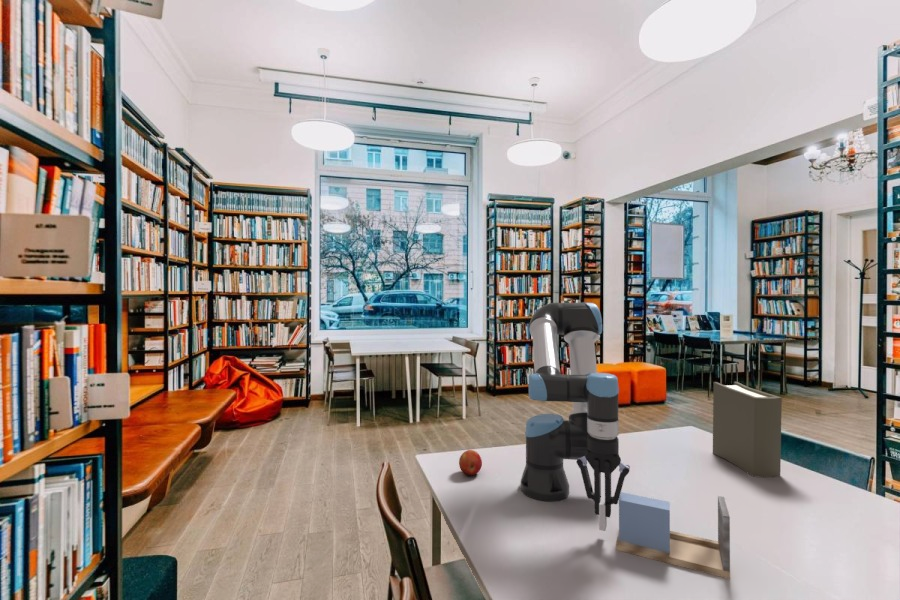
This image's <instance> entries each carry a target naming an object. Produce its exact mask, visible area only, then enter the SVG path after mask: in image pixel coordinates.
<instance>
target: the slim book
mask: <svg viewBox="0 0 900 600" xmlns="http://www.w3.org/2000/svg"><path fill="white" fill-rule="evenodd" d="M670 505H671V502H670V501H666V500H663V499H659V498H658V499H656V498H652V497H647V496H642V495H636V494H631V493H626V492H622V491H621V493H620V496H619V500H618V532H619V541H623V542H627V543H631V544H635V545H639V546H643V547H647V548H651V549H655V550H659V551H663V552H667V553H670V531H671V520H670V519H671V518H670V517H671V516H670V515H671V509H670V507H671V506H670Z"/></svg>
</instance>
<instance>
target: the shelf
mask: <svg viewBox="0 0 900 600" xmlns="http://www.w3.org/2000/svg"><path fill="white" fill-rule="evenodd" d="M730 519H731V517H730V513H729V510H728V506H727V503H726V500H725V497H724V496H722V495H717V540H714V539H713V540H712V539H710V538H709V539H707V538H704V537H699V536H694V535H690V534H687V533H686V534H685V533H682V532H681V533H680V532H677V531H673V530H670V553H667V552H663V551H659V550H655V549H651V548H647V547H643V546H639V545H635V544H631V543H627V542H623V541H619V531H618V532H617V536H616V542H615V550H616V551H620V552H623V553H628V554H631V555H632V554H633V555H636V556H639V557H644V558H647V559H650V560H655V561H659V562H663V563H666V564H670V565H675V566H678V567H683V568H686V569H690V570H694V571H698V572H702V573H706V574H710V575H714V576H718V577H721V578H725V579H729V580H730V579H731V536H730V535H731V529H730V528H731V526H730V524H731V523H730V522H731V520H730Z"/></svg>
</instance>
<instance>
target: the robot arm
mask: <svg viewBox="0 0 900 600" xmlns="http://www.w3.org/2000/svg"><path fill="white" fill-rule="evenodd" d="M528 329H529V334H530V336H531V337H532V346H533V347H532V349H533V350H532V351H533V365H534V366H533V368H534V369H533V371H534V373H531V374H529V375H528V398H529V399H530V400H531V401H539V402H540V401H541V402H561V403H562V402H568V403H572V411H571V412H570V413H569V414H568V420H564V418H563V416H562V415H561V414H557V413H556V414H554V413H541V414H536V415H533V416H531V417H530V418H528V420H527V421H526V423H525V433H524V436H525V467H524V469H523V472H522V474H521V475H522V476H521V478H520V491H521V492H522V493H523V494H524V495H526V496H527V497H529V498H532V499H534V500H538V501H546V502H554V501H555V502H556V501H561V500H564V499H566V498H567V497H568V496H569V495H570V484H569V481H568V477H567V473H566V471H565V468H564V460H570V461H571V460H573V461H575V460H576V464H577V467H578V468H579V469H580V473H581V477H582V480H583V481H582V482H583V485H584V490H585V494H586V497H587V498H588V499H589V500H592V501H593V502H594V515H595V516H596V515H598V529H599V531H602V532H606V531H607V530H606V529H607V522H608V521H607V520H608V519H607V518H610V517H611V515H612V505H618V504H619V497H620V493H621V492H622V488H623V485H624V481H625V478H626V476H627V475H628V474H629V473H630V470H631V467H630V465H629V464H625V463H624V462H622V459H621V457H620V455H619V454H620V453H619V450H620V449H619V448H620V446H619V443H620V442H619V441H620V440H619V437H618V436H619V433H620V432H619V427H620V426H619V425H620V424H619V422H620V421H619V393H620V387H619V382H618V381H619V380H618V376H616V375H615V374H611V373H609V372H608V373H607V372H598V367H597V358H596V349H595V347H596V346H595V342H596V341H597V340H598V339H599V336H600V335H601V334H602V333H603V319H602V314H601V311H600V308H599V307H598V305H597V304H595V303H594V302H585V301H582V302H550V303H547V304H544V305H543V306H541V307H539V308H538V309H537V310H536V311H535V312H534V314H533V315H532V316H531V319H530V322H529V328H528ZM557 335H558V336H560V335H561V336H562V335H563V340H564V341H565V342H566V343H567V344H568V350H569V351H568V352H569V366H570V367H569V369H570V374H561V368H560V367H561V366H560V359H559V353H558V347H557V344H558V343H557V339H556V336H557ZM588 464H589V465H590V467H591V469H592V470H593V476H594V477H593V478H594V481H593V482H594V483H593V485H592V482H591V481H592V480H591V478H590V473H589V468H588ZM618 467H619V468H618ZM617 468H618V471H619V477H618V480H617V483H616V487H615V491H614V495H613V496H612V473H614V471H615V470H616V469H617ZM602 474H604V499H601V498H602V486H601V485H602V482H601V481H602V480H601V479H602ZM593 486H594V489H593Z"/></svg>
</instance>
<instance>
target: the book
mask: <svg viewBox="0 0 900 600" xmlns="http://www.w3.org/2000/svg"><path fill="white" fill-rule="evenodd" d="M712 394H713V396H712V397H713V400H712V401H713V402H712V403H713V404H712V409H713V410H712V454H714V455H715V456H717V457H720V458H722V459H724V460H726V461H728V462H730V463H731V464H733V465H734V466H737V467H738V468H740V469H741V470H743V471H744V472H746V473H747V472H748V474H749V475H750V474H751V476H752V475H753V476H752V477H755V476H759V477H758V478H776V477H780V476H781V460H782V459H781V456H782V455H781V454H782V451H781V450H782V449H781V448H782V410H783V409H782V405H783V403H782V401H783V400H782V399H783V397H780V396H777V395H774V394H770V393H768V392H765V391H761V390H759V389H756V388H752V387H749V386H747V385H744V384H742V383H740V382H738V381H733V384H732V385H730V384H729V385H728V384H727V385H725V384H722V383H720V382H718V381H713V393H712Z"/></svg>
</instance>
